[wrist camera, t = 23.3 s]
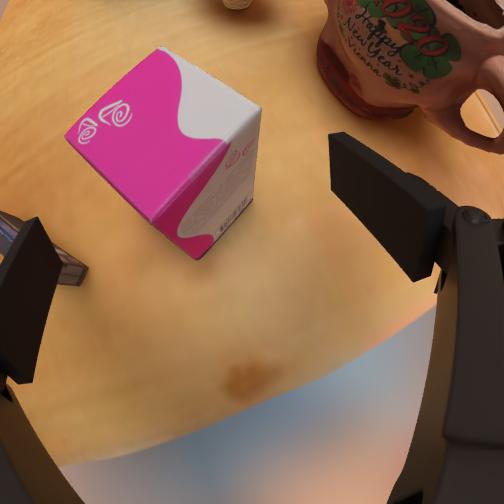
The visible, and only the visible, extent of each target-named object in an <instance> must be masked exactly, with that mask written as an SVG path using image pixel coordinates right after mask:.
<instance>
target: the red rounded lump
mask: <svg viewBox="0 0 504 504" xmlns="http://www.w3.org/2000/svg"><path fill="white" fill-rule="evenodd" d="M223 4H224V5H225V6H226V7H228V8H230V9H234V10H239V9H244V8H246V7H248V6H249V5H250V4H251V0H223Z"/></svg>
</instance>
